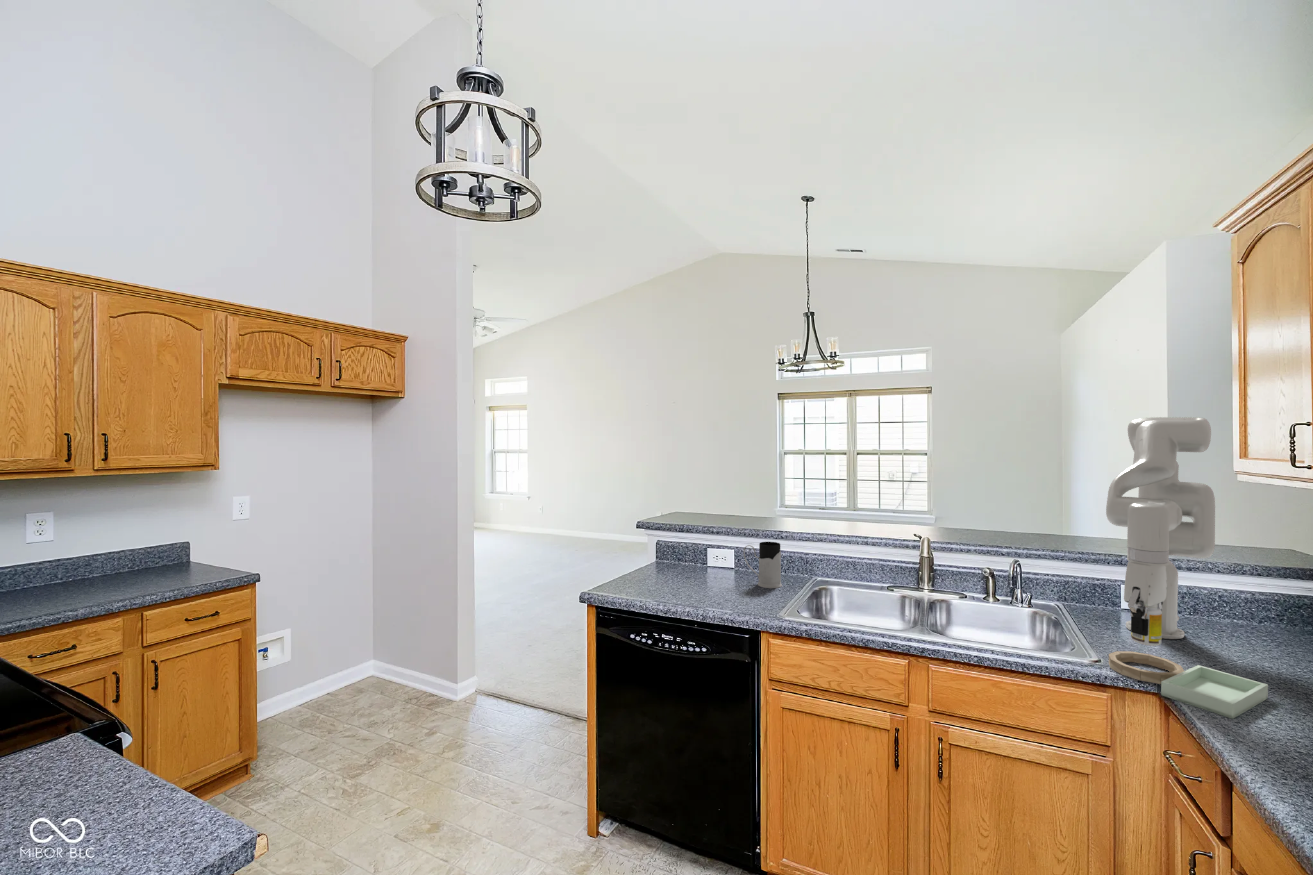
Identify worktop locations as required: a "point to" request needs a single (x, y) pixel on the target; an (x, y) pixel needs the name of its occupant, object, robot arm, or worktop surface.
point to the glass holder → (768, 564)
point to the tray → (1215, 691)
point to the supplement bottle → (1151, 627)
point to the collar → (1142, 658)
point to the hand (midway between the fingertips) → (1146, 630)
